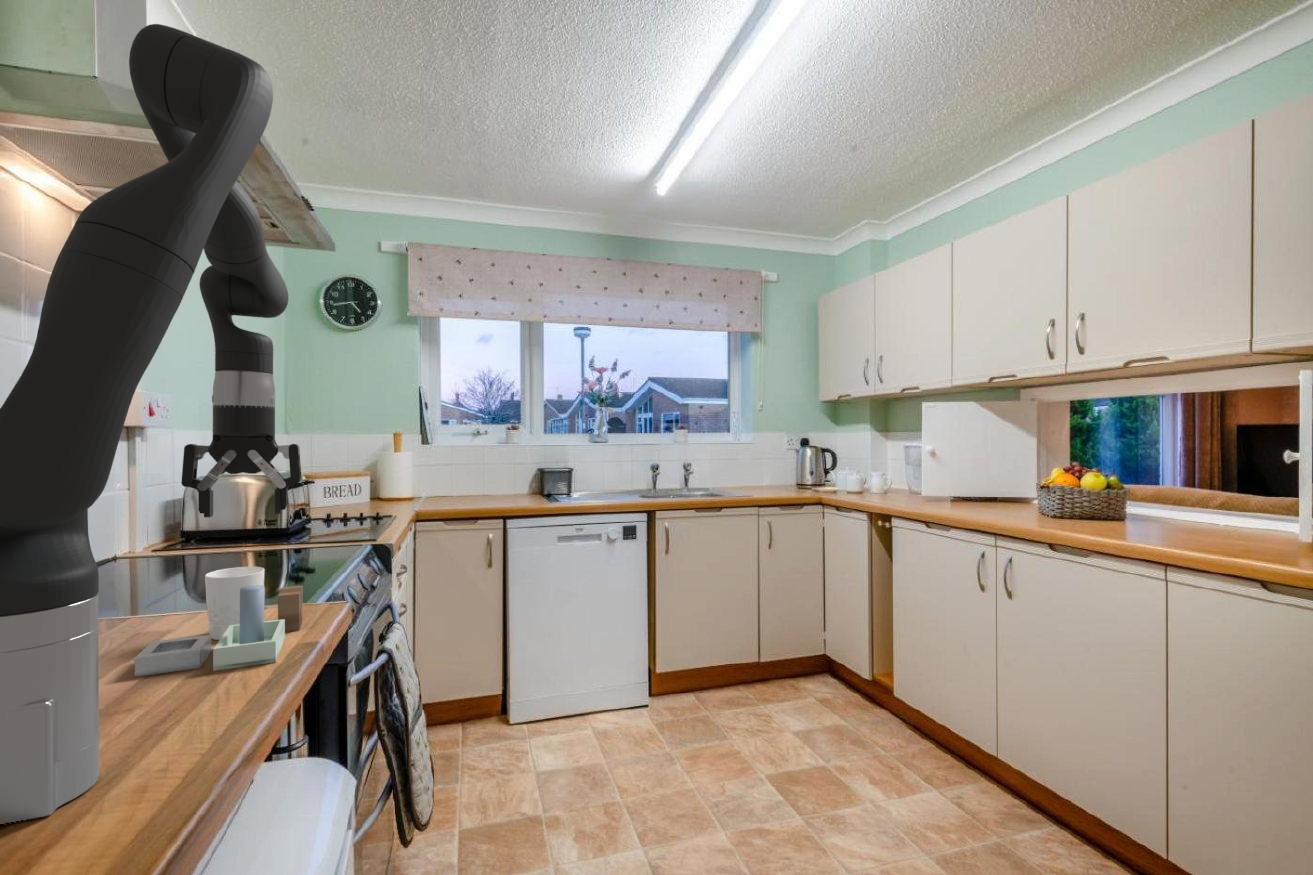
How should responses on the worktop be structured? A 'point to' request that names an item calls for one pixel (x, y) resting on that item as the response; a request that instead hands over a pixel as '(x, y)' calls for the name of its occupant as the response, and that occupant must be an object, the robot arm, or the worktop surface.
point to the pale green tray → (248, 647)
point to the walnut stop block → (291, 607)
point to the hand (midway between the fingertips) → (244, 515)
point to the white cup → (228, 596)
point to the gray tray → (173, 655)
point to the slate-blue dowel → (251, 614)
